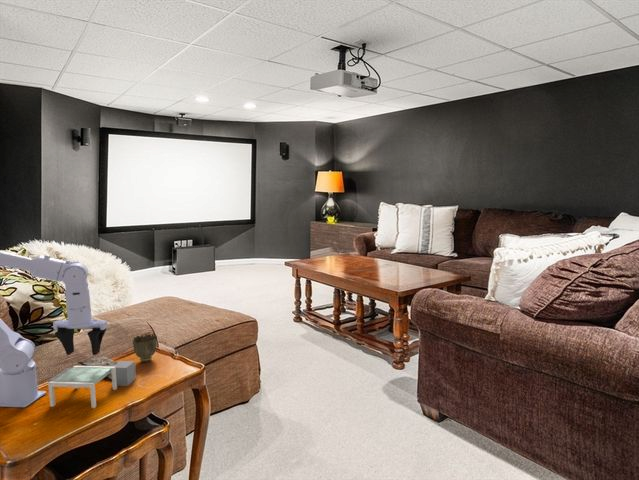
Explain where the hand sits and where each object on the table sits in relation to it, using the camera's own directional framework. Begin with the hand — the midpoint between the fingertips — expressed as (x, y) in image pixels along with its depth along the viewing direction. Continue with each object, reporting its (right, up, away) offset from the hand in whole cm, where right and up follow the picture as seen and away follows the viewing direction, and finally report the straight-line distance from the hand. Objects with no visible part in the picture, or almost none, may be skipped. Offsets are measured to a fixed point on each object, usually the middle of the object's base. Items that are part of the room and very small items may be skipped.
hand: (83, 353), depth 118 cm
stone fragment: (-2, -9, +15) cm, 18 cm away
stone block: (+9, -10, +5) cm, 14 cm away
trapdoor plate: (+2, -6, -4) cm, 7 cm away
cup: (+9, -8, +20) cm, 24 cm away
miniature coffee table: (+2, -11, -4) cm, 12 cm away
